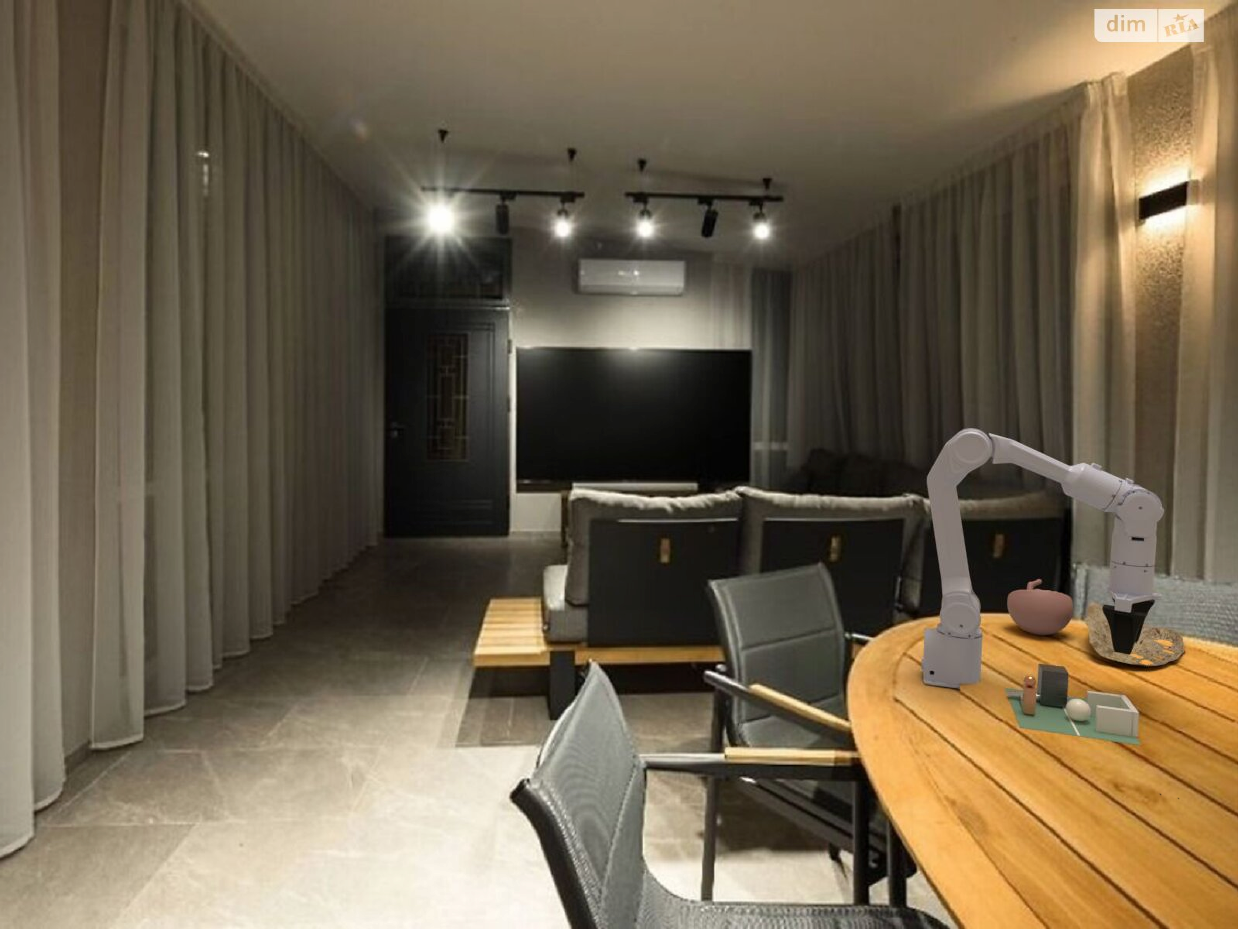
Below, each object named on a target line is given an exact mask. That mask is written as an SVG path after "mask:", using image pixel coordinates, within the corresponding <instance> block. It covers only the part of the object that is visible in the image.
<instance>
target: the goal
mask: <svg viewBox="0 0 1238 929" xmlns="http://www.w3.org/2000/svg"><path fill="white" fill-rule="evenodd" d="M1086 703H1087V704H1088V705H1089V707H1090V709H1091V715H1090V716H1094V717H1096V721H1095V730H1096V731H1097V732H1104V733H1111V734H1118V735H1125V736H1132V737H1136V738H1139V737H1138V734H1139V719H1140V712H1139V710H1138V709H1137V708H1136V707H1135V706H1134V705H1133V703H1132V702H1131V701H1130V699H1129V698H1128V697H1127V695H1125V694H1117V693H1116V694H1115V693H1110V692H1109V693H1107V692H1101V691H1092V690H1086Z"/></svg>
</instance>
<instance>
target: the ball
mask: <svg viewBox="0 0 1238 929" xmlns="http://www.w3.org/2000/svg"><path fill="white" fill-rule="evenodd" d="M1066 712H1067V714H1068V716H1069V717H1070V718H1072V719H1073V720H1076V721H1085V720H1087V719H1088V718H1089V717H1090V715H1091V709H1090V707H1089V705H1088V704H1087V703H1086V702H1085V701H1083V700H1081V699H1072V700H1070V701H1069V702H1068V703H1067V704H1066Z"/></svg>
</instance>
